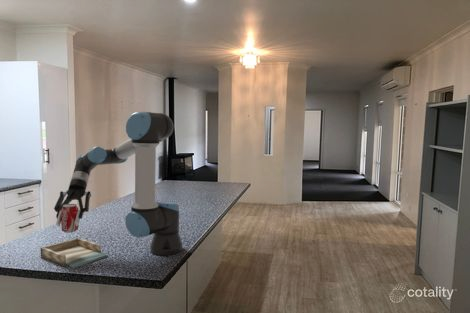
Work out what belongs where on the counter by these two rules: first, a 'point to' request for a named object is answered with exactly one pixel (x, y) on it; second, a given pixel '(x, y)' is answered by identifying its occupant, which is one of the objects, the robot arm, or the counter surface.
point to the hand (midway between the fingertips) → (67, 224)
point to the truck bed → (73, 252)
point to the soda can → (69, 218)
